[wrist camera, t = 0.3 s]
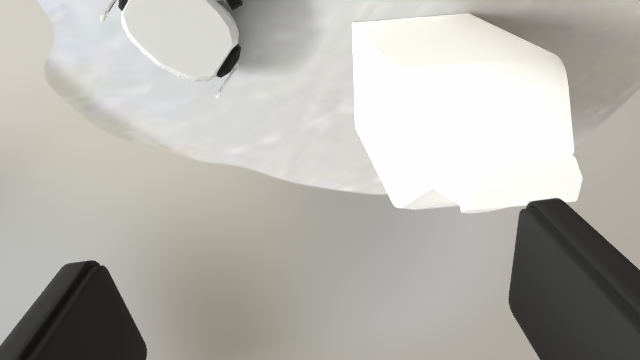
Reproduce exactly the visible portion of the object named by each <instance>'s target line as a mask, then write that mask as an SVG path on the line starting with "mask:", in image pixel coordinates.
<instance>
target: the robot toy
mask: <svg viewBox="0 0 640 360" xmlns="http://www.w3.org/2000/svg"><path fill="white" fill-rule="evenodd" d="M115 1H116V0H112V1H111V3H110V5H109V6H108V8H107V9H106V11H105V12H104V13H103V14H102V16H101V17H100V22H102V21H104V20H105V19H106V17H107V14H108V13H109V11H110V9H111V8H112V6H113V5H114V3H115ZM226 1H227V2H228V4H229V6H230V7H231V9H232V10H234V9H236V8H237V7H239V6H241V5H242V0H226ZM119 8H120V9H121V11H122V26H123V28H124V30H125V32H126V34H127V36H128V37H129V38H130V40H131V41H132V42H133V43H134V44H135V45H136V46H137V47H138V48H139V50H140V51H142V52H143V53H144V54H145V55H146V56H147V57H148V58H150V59H151V60H152V61H153V62H154V63H155V64H156V65H158V66H159V67H161V68H163V69H165V70H167V71H169V72H171V73H174V74H176V75H178V76H180V77H183V78H186V79H189V80H192V81H209V80H211V79H212V78H214V77H216V76H218V77H223V76H225V75H226V74H228V73H229V72H231V70H232V69H233V68H234V69H233V70H232V72H231V73H230V75H229V76H228V78H227V79H226V81H225V82H224V84H223V86H222V87H221V89H220V90H219V91H218V92H217V94H216V97H215V98H217V97H218V96H219V95H220V93H221V91H222V89H223V88H224V86H225V85H226V83H227V82H228V80H229V79H230V77H231V75H232V74H233V72H234V71H235V70H236V69H237V68H238V66H239V65H240V64H238V63H237V61H238V59H239V56H240V50H241V47H240V46H239V44H238V38H239V30H238V28H237V25H236V22H235V20H234V19H233V17H232V16H231V14H230V13H229V12H228V11H227V9H226V8H225V7H224V6H223V5H222V4H221V3H220V2H219V1H218V0H119Z"/></svg>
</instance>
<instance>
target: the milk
mask: <svg viewBox="0 0 640 360" xmlns="http://www.w3.org/2000/svg"><path fill="white" fill-rule="evenodd" d="M352 36H353V69H354V101H355V128H356V130H357V132H358V134H359V136H360V138H361V140H362V142H363V144H364V146H365V148H366V150H367V152H368V154H369V156H370V158H371V160H372V162H373V164H374V166H375V169H376V171H377V173H378V175H379V177H380V179H381V181H382V183H383V185H384V187H385V189H386V191H387V193H388V195H389V197H390V199H391V201H392V203H393V204H394V205H395V206H396V207H398V208H405V209H413V210H415V209H427V208H439V207H451V206H460V208H461V212H462V213H479V212H487V211H493V210H498V209H503V208H506V207H511V206H512V207H513V206H525V205H528V203H529V202H531V201H537V200H544V199H552V198H560V199H561V200H563V201H564V202H572V201H577V198H578V195H579V191H580V188H581V184H582V180H583V178H582V175H581V172H580V170H579V167H578V164H577V161H576V158H575V157H573V154H574V142H573V131H572V120H571V109H570V98H569V88H568V80H567V73H566V70H565V66H564V64H563V62H562V60H561V59H560V58H559V57H558V56H557V55H555V54H553V53H551V52H549V51H547V50H545V49H543V48H541V47H539V46H537V45H534V44H532V43H530V42H528V41H526V40H524V39H522V38H520V37H518V36H515V35H513V34H511V33H509V32H507V31H505V30H503V29H501V28H499V27H496V26H494V25H492V24H490V23H488V22H486V21H484V20H482V19H480V18H477V17H475V16H473V15H471V14H469V13H464V14H452V15H440V16H428V17H415V18H403V19H391V20H379V21H366V22H354V23H352Z"/></svg>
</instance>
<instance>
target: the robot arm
mask: <svg viewBox="0 0 640 360" xmlns="http://www.w3.org/2000/svg"><path fill="white" fill-rule="evenodd" d="M509 305H510V309H511V311H512V313H513V315H514V317H515V318H516V320H517V322H518V324H519V325H520V327H521V329H522V330H523V332H524V334H525V335H526V337H527V339H528V340H529V342H530V344H531V345H532V347H533V349H534V350H535V352H536V353H537V355H538V357H539V358H540V360H640V270H639V269H638V268H637V267H636V266H634V265H633V264H632V263H631V262H630V261H629V260H628V259H627V258H626V257H624V255H622V254H621V253H620V252H619V251H618V250H617V249H616V248H615V247H614V246H613V245H611V244H610V243H609V242H608V241H607V240H606V239H605V238H604V237H603V236H601V235H600V234H599V233H598V232H597V231H596V230H595V229H594V228H593V227H591V226H590V225H589V224H588V223H587V222H586V221H585V220H584V219H583V218H582V217H581V216H579V215H578V214H577V213H576V212H575V211H574V210H573V209H572V208H570V207H569V206H568V205H567V204H566V203H565V202H564V201H563V200H561V199H560V198H552V199H544V200H537V201H531V202H529V203H528V205H527V207H526V209H522V210H521V211H520V214H519V220H518V228H517V236H516V244H515V252H514V259H513V267H512V275H511V283H510V291H509ZM146 356H147V348H146V345H145V342H144V340H143V338H142V336H141V334H140V332H139V330H138V328H137V326H136V324H135V323H134V320H133V318H132V317H131V315H130V313H129V311H128V309H127V307H126V305H125V303H124V301H123V299H122V297H121V295H120V293H119V291H118V289H117V287H116V285H115V283H114V281H113V279H112V277H111V275H110V273H109V271H108V270H107V268H106V267H105V266H100V265H99V263H98V262H96V261H84V262H77V263H69V264H66V265H64V266H63V267H62V268H61V269H60V271H59V272H58V273H57V274H56V276H55V277H54V278H53V279H52V281H51V282H50V283H49V285H48V286H47V287H46V288H45V290H44V291H43V292H42V294H41V295H40V296H39V297H38V299H37V300H36V301H35V302H34V304H33V305H32V306H31V307H30V309H29V310H28V311H27V312H26V314H25V315H24V316H23V318H22V319H21V320H20V321H19V323H18V324H17V325H16V327H15V328H14V329H13V331H12V332H11V333H10V334H9V336H8V337H7V338H6V339H5V341H4V342H3V343H2V345H1V346H0V360H146Z"/></svg>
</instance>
